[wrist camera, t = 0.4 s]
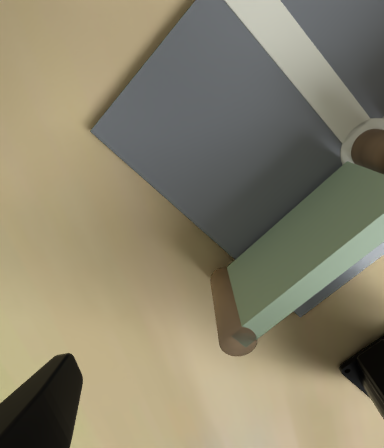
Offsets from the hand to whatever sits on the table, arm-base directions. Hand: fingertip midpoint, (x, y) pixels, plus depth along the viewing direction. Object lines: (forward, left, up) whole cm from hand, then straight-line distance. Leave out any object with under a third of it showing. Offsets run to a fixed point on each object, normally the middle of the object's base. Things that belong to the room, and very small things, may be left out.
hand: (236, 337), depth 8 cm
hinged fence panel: (-5, -2, -12) cm, 13 cm away
